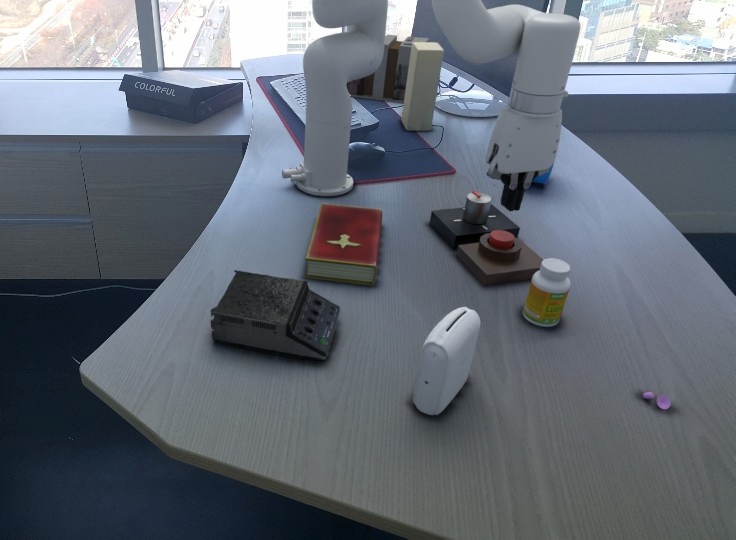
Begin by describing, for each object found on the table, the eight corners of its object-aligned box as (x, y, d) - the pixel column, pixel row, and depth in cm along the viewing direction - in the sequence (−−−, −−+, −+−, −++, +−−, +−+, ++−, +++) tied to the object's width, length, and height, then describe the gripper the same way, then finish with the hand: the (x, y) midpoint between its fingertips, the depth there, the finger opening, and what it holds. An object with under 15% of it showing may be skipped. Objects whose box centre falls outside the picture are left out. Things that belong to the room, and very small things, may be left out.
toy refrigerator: (434, 131, 169) (447, 49, 157) (406, 131, 169) (417, 49, 157) (427, 120, 175) (439, 41, 164) (401, 120, 175) (411, 41, 164)
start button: (496, 251, 110) (498, 242, 109) (484, 239, 113) (485, 231, 112) (516, 248, 110) (519, 239, 109) (504, 237, 114) (506, 228, 113)
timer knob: (491, 223, 119) (496, 200, 117) (469, 225, 119) (474, 202, 116) (479, 212, 123) (484, 189, 120) (458, 214, 122) (463, 192, 120)
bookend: (349, 80, 207) (353, 28, 198) (427, 89, 199) (434, 35, 190) (335, 94, 195) (339, 39, 186) (417, 104, 187) (425, 48, 178)
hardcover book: (381, 227, 124) (383, 207, 122) (375, 285, 107) (378, 264, 105) (320, 220, 126) (321, 201, 124) (304, 277, 109) (305, 256, 107)
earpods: (659, 412, 85) (664, 400, 85) (667, 412, 83) (672, 400, 83) (638, 399, 85) (644, 388, 85) (646, 399, 83) (651, 387, 84)
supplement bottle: (541, 331, 97) (558, 278, 91) (514, 313, 101) (528, 260, 95) (566, 321, 99) (584, 269, 94) (539, 303, 103) (554, 252, 98)
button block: (484, 285, 107) (488, 265, 105) (455, 255, 115) (459, 236, 113) (547, 277, 109) (553, 257, 107) (515, 248, 118) (520, 229, 115)
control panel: (453, 249, 117) (456, 234, 115) (429, 224, 125) (431, 209, 124) (516, 241, 120) (520, 227, 118) (488, 217, 128) (492, 203, 126)
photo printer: (437, 421, 81) (453, 346, 74) (407, 406, 83) (420, 331, 77) (471, 379, 88) (489, 307, 81) (442, 366, 90) (458, 294, 83)
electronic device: (326, 365, 90) (329, 331, 87) (210, 343, 94) (209, 310, 91) (340, 316, 100) (343, 284, 96) (234, 298, 104) (234, 266, 100)
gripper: (562, 90, 102) (536, 193, 112) (478, 96, 100) (458, 202, 109) (593, 104, 96) (562, 212, 106) (504, 112, 93) (480, 222, 103)
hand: (509, 207), depth 108 cm, fingers closed
